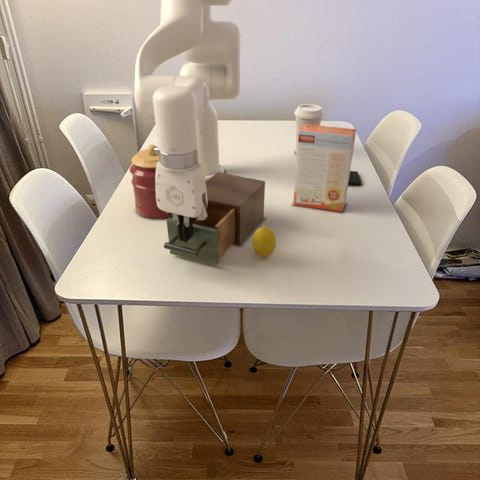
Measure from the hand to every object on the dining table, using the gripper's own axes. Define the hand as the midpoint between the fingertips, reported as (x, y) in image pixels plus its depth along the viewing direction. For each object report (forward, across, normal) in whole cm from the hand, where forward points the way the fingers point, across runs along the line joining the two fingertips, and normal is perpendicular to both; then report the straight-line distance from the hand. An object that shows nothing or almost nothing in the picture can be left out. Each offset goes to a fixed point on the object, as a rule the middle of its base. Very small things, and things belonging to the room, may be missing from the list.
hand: (186, 238), depth 102 cm
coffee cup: (+9, +2, +79) cm, 80 cm away
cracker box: (+8, +18, +43) cm, 48 cm away
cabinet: (+8, 0, +21) cm, 23 cm away
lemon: (+8, +14, +11) cm, 20 cm away
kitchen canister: (+8, -22, +22) cm, 32 cm away
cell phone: (+8, +16, +61) cm, 64 cm away
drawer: (+7, 0, +7) cm, 9 cm away
